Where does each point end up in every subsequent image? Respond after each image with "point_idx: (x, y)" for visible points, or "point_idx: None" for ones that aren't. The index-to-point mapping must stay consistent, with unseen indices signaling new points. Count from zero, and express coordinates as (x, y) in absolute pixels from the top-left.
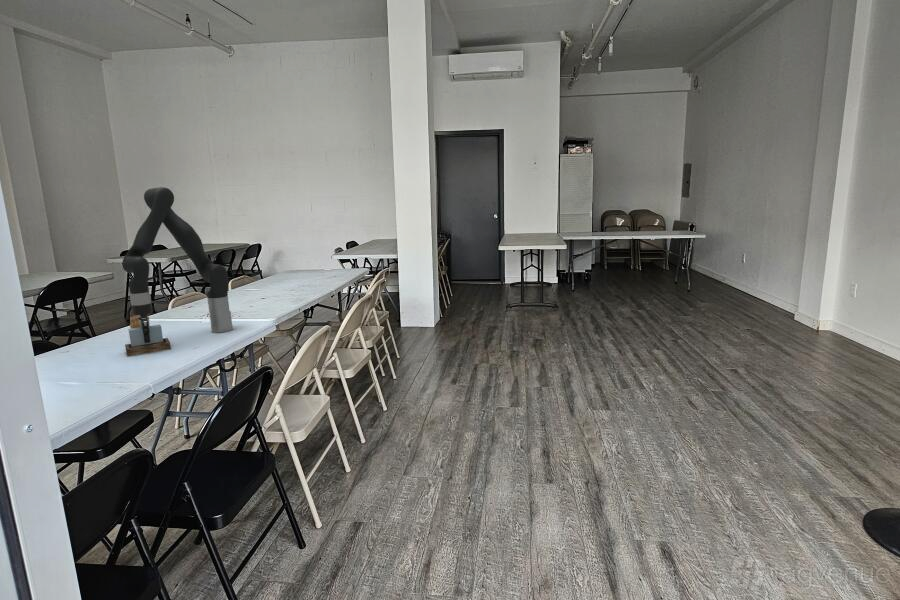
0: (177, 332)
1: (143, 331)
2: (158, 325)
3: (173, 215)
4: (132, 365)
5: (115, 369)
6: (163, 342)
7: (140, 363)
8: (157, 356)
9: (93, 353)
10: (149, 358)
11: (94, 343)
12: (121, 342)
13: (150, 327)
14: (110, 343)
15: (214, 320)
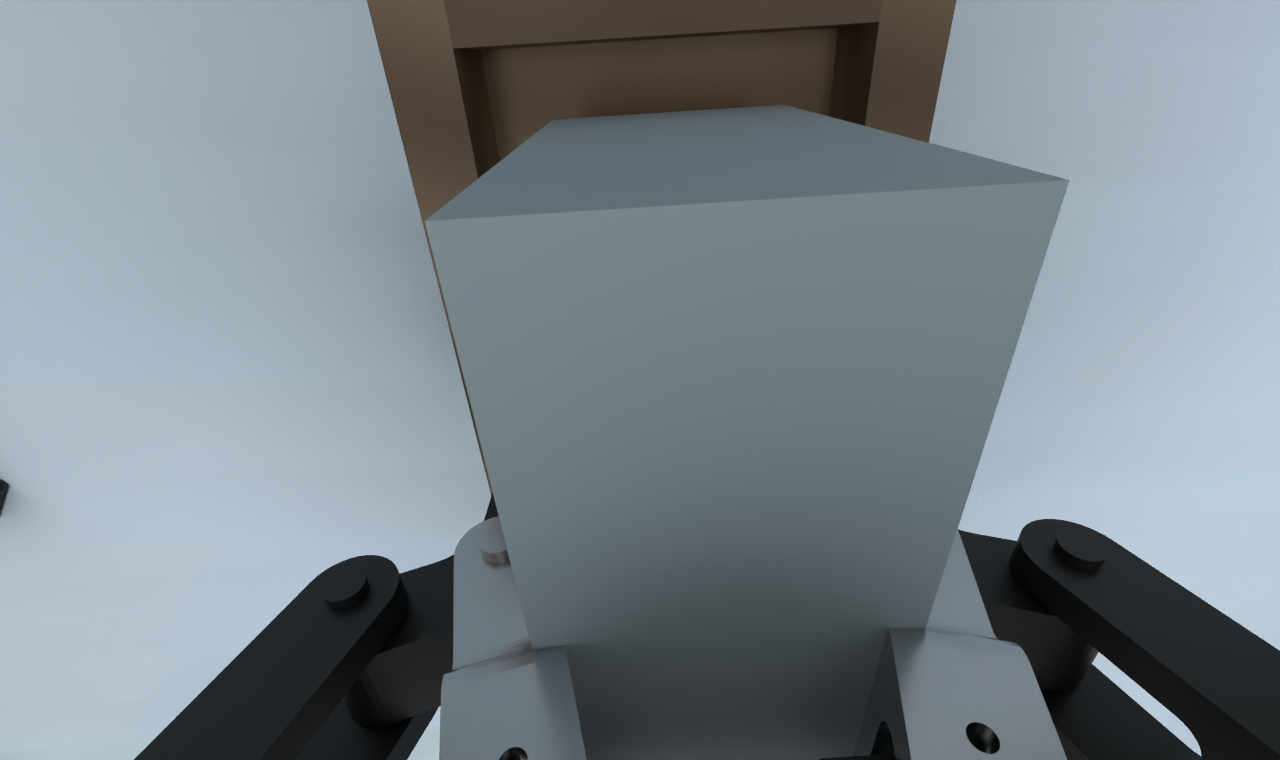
0: None
1: (1119, 706)
2: (701, 319)
3: None
4: (1256, 490)
5: (1217, 598)
6: (482, 92)
7: (1274, 425)
8: (1162, 229)
9: (436, 738)
10: (1152, 332)
11: (9, 756)
12: (12, 599)
13: (890, 609)
14: (42, 670)
15: None
